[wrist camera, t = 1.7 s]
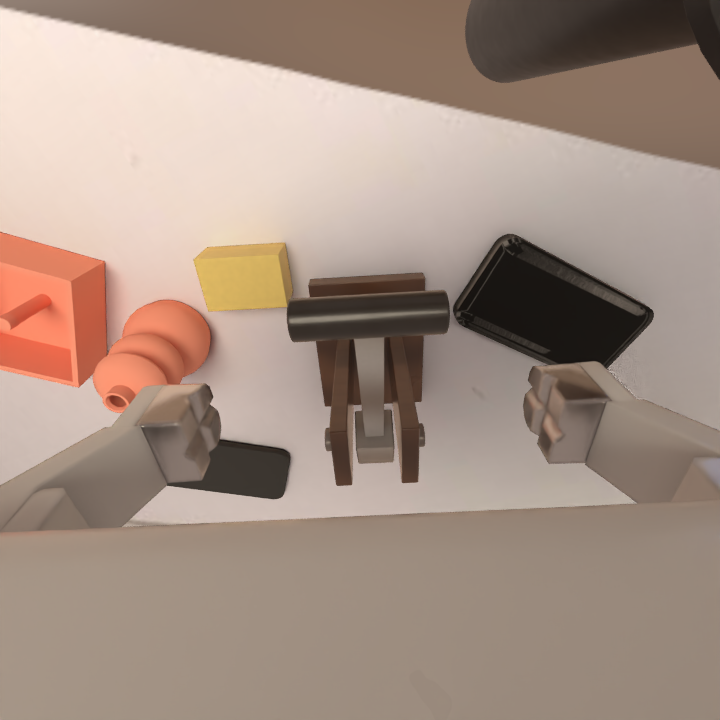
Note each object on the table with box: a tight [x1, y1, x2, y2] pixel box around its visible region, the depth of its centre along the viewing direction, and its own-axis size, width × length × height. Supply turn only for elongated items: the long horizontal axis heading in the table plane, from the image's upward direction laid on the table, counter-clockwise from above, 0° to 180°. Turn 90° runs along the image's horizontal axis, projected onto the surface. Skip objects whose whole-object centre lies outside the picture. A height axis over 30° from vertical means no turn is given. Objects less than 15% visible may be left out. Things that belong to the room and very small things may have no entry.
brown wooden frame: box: [308, 273, 425, 486], centre depth 28 cm, size 12×9×14 cm
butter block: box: [194, 243, 293, 311], centre depth 30 cm, size 4×6×3 cm, turn 94°
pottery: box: [0, 232, 211, 413], centre depth 29 cm, size 18×10×10 cm, turn 72°
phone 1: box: [167, 441, 290, 499], centre depth 42 cm, size 7×1×15 cm
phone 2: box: [453, 234, 654, 369], centre depth 32 cm, size 8×1×15 cm
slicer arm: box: [287, 290, 450, 464], centre depth 19 cm, size 14×6×2 cm, turn 4°
